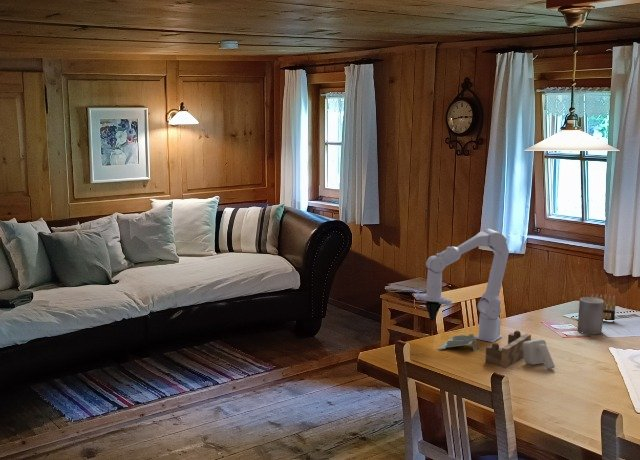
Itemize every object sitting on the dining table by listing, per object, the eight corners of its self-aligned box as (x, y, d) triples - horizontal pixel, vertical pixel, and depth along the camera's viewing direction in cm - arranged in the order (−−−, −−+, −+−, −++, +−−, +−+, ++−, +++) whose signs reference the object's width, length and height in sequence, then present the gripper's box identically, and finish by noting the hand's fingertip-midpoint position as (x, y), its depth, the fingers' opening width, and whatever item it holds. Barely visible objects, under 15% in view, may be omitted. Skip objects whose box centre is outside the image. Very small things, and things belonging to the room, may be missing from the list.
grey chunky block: (545, 371, 265) (542, 343, 266) (525, 369, 274) (522, 341, 275) (562, 368, 269) (559, 340, 269) (541, 366, 278) (539, 339, 279)
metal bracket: (480, 330, 296) (469, 340, 283) (483, 344, 296) (472, 355, 283) (445, 335, 303) (433, 345, 290) (449, 349, 303) (437, 359, 290)
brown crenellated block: (510, 348, 292) (511, 328, 291) (530, 352, 288) (531, 332, 286) (485, 363, 275) (486, 342, 273) (506, 368, 270) (507, 346, 269)
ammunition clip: (588, 320, 333) (590, 293, 331) (588, 318, 335) (590, 292, 333) (614, 322, 330) (616, 295, 328) (614, 321, 332) (616, 294, 330)
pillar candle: (581, 326, 323) (583, 292, 320) (604, 330, 317) (607, 296, 315) (574, 332, 315) (576, 297, 313) (598, 336, 310) (600, 301, 307)
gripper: (412, 285, 297) (411, 318, 300) (446, 291, 289) (444, 325, 291) (421, 282, 303) (420, 315, 305) (454, 288, 295) (452, 321, 297)
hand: (432, 320), depth 299 cm, fingers closed
